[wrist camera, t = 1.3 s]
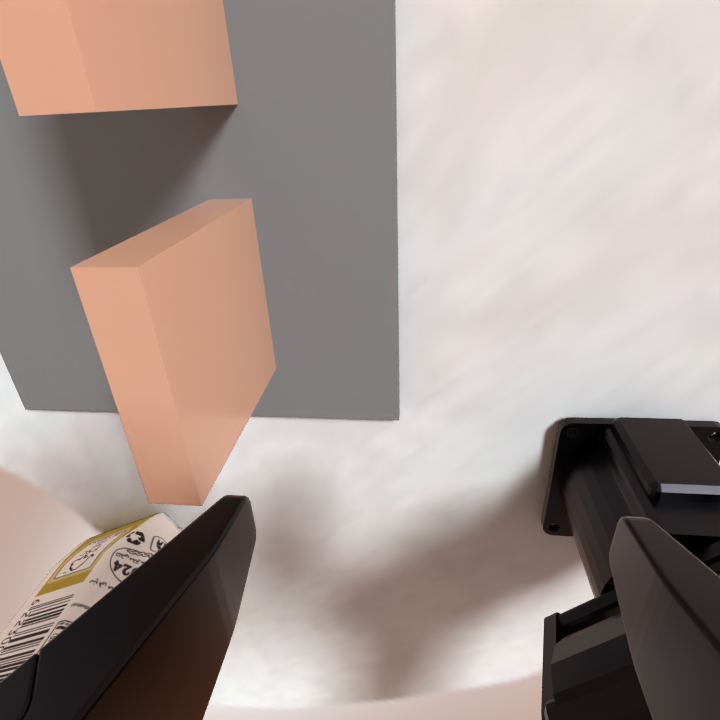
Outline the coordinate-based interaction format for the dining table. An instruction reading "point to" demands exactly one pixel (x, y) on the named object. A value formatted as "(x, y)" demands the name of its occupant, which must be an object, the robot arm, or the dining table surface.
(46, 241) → the mat
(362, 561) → the dining table surface
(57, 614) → the juice carton
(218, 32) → the tile
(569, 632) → the robot arm
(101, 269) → the tile
